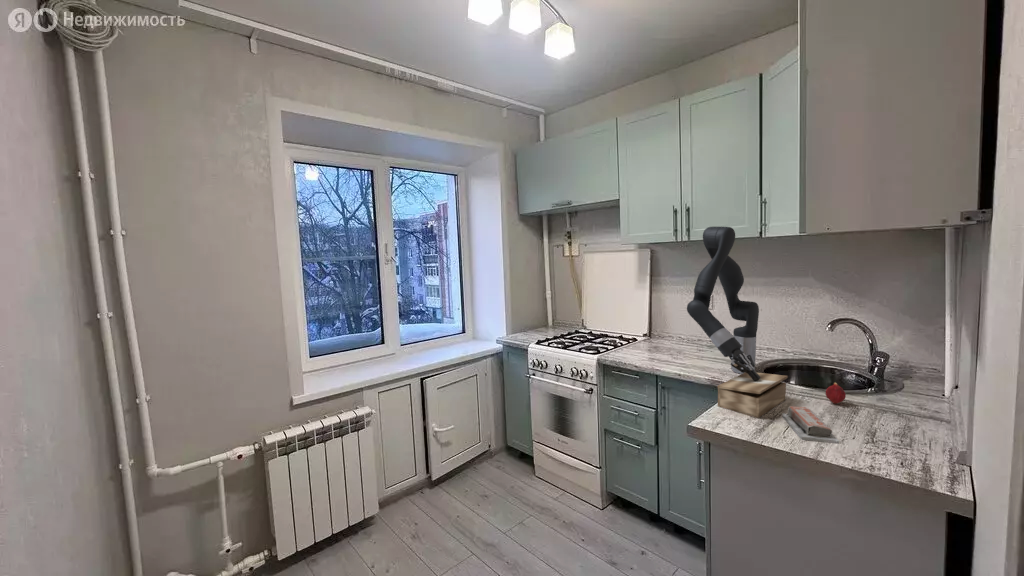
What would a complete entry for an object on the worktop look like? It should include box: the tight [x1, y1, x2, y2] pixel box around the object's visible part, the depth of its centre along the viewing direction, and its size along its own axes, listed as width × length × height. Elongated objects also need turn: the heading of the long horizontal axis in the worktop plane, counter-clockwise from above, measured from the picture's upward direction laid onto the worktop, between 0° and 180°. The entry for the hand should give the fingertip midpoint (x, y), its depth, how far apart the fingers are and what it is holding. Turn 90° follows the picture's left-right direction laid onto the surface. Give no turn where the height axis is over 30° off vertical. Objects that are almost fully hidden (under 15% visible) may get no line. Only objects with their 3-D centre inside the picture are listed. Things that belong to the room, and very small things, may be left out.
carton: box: [717, 381, 787, 419], centre depth 152 cm, size 14×24×7 cm, turn 127°
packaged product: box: [781, 406, 840, 444], centre depth 131 cm, size 18×5×10 cm
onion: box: [825, 382, 847, 405], centre depth 150 cm, size 6×6×8 cm
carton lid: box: [717, 372, 789, 394], centre depth 152 cm, size 14×25×1 cm, turn 127°
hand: (758, 380), depth 150 cm, fingers closed
